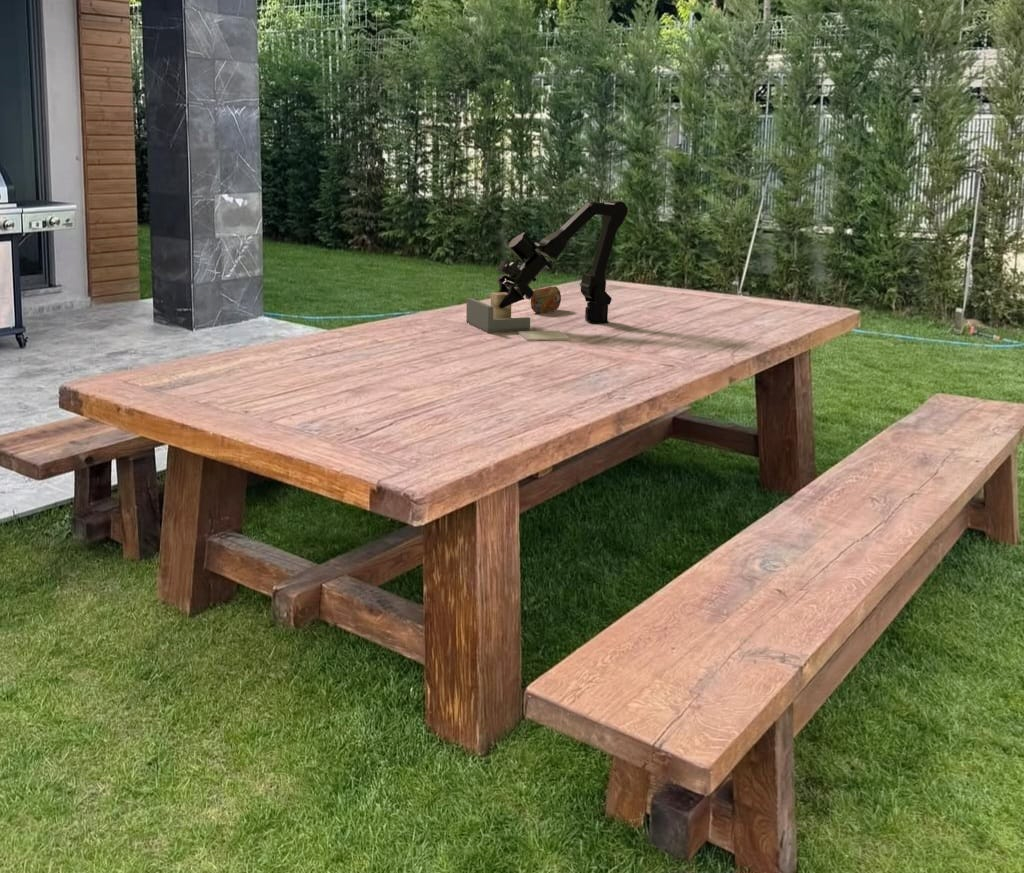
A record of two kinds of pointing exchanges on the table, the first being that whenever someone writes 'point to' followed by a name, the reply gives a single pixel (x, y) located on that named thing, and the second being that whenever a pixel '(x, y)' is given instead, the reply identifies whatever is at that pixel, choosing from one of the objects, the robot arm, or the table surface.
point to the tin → (546, 299)
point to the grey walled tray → (483, 319)
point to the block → (497, 311)
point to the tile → (543, 335)
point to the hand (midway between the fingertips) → (496, 306)
